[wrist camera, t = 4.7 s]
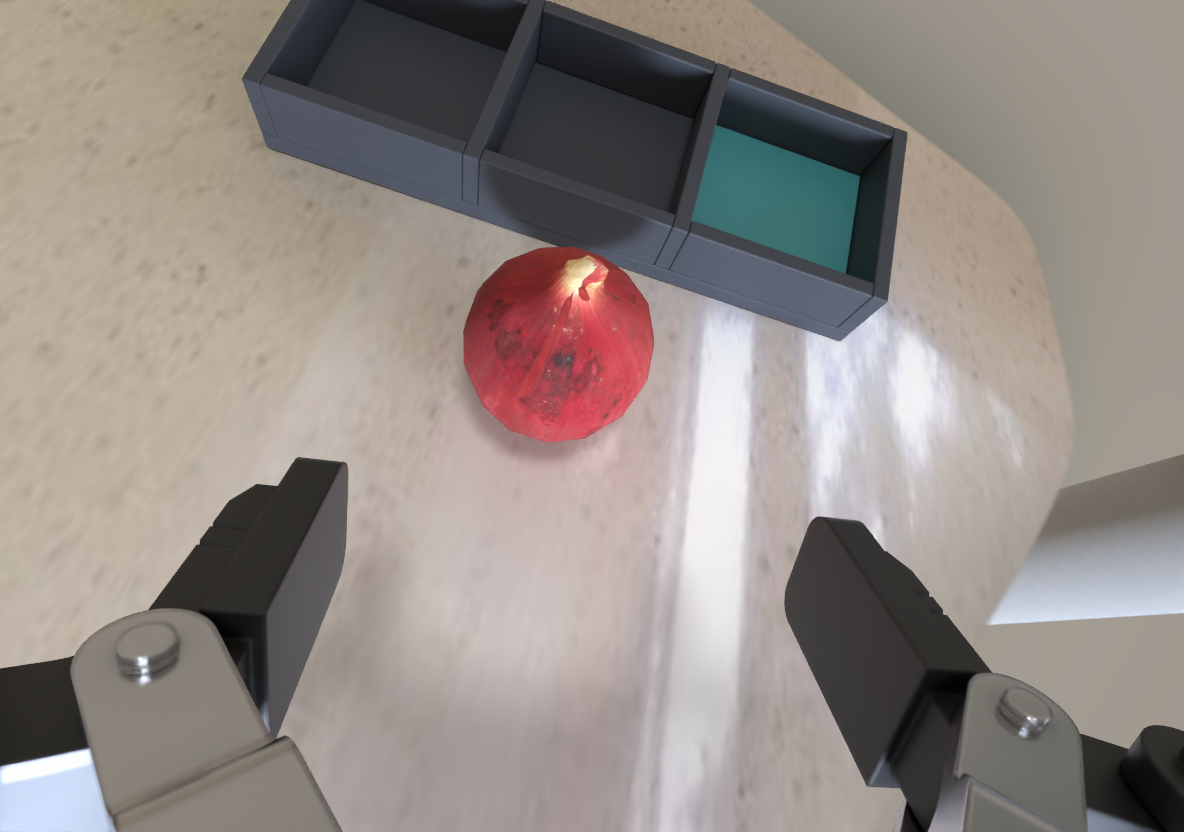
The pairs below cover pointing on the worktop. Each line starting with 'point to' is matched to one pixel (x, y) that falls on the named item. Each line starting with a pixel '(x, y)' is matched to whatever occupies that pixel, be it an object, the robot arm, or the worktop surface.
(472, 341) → the onion
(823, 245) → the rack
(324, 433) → the worktop surface
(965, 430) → the worktop surface
